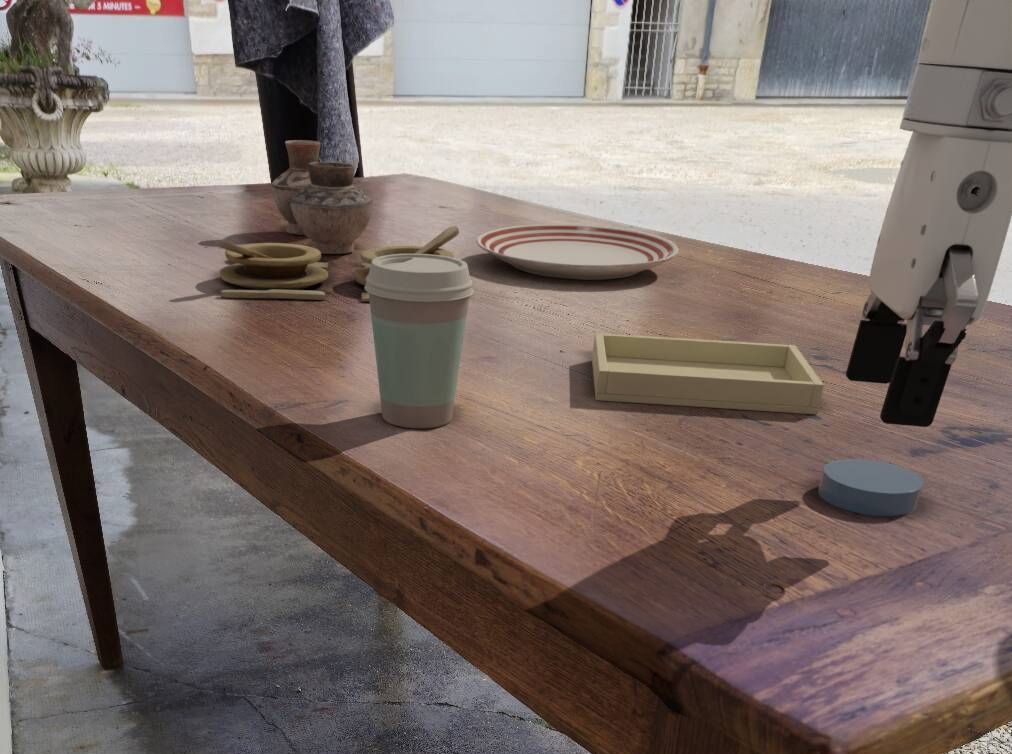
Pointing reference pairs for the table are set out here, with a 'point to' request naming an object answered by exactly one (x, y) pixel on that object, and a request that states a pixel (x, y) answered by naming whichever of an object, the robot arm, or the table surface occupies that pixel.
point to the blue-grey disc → (870, 487)
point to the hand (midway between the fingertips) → (885, 401)
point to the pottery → (321, 199)
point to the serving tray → (704, 374)
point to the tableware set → (301, 267)
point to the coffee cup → (418, 334)
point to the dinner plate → (577, 250)
